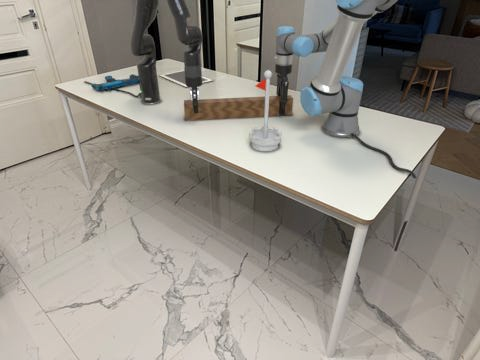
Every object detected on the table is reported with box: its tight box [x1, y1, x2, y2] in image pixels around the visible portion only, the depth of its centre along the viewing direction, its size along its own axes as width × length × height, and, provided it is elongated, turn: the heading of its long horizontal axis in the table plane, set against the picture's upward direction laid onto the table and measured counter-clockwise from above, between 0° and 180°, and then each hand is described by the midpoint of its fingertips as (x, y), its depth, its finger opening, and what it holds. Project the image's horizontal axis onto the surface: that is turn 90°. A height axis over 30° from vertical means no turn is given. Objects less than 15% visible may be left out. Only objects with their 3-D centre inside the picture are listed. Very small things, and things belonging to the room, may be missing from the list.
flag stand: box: [248, 69, 283, 152], centre depth 130 cm, size 13×13×30 cm
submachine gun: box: [90, 73, 140, 92], centre depth 207 cm, size 34×4×25 cm
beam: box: [183, 94, 294, 121], centre depth 162 cm, size 51×5×8 cm, turn 97°
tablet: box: [158, 69, 214, 88], centre depth 216 cm, size 32×20×1 cm, turn 41°
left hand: (196, 110), depth 160 cm, fingers closed on beam, 4 cm apart
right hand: (280, 112), depth 166 cm, fingers closed on beam, 5 cm apart
